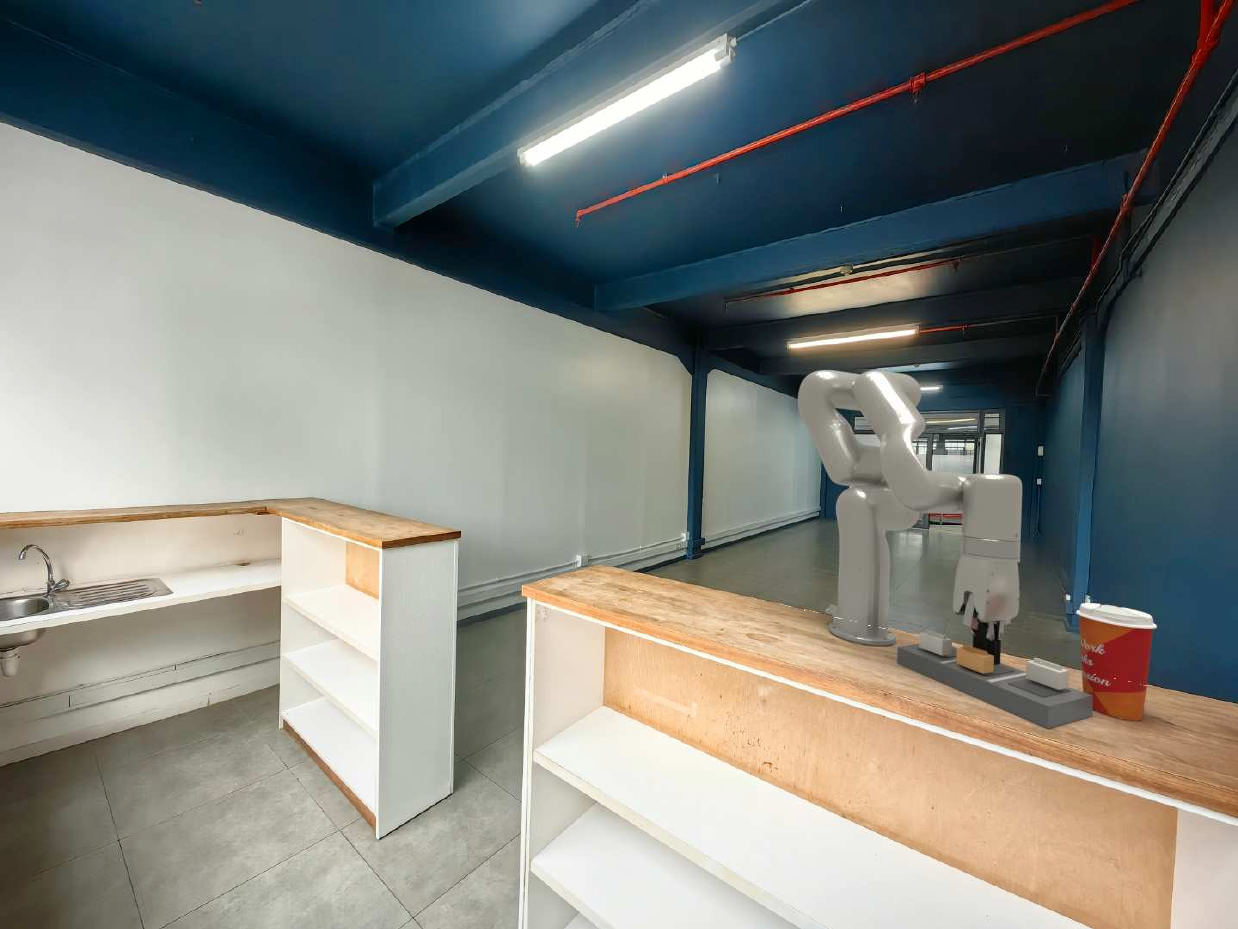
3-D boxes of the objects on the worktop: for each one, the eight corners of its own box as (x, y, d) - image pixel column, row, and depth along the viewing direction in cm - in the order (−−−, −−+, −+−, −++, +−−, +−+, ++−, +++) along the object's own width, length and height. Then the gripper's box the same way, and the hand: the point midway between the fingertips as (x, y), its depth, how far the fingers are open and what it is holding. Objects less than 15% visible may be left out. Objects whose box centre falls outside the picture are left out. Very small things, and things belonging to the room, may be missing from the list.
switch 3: (1025, 678, 71) (1026, 657, 71) (1035, 676, 72) (1036, 656, 72) (1058, 690, 67) (1059, 668, 67) (1068, 687, 68) (1069, 666, 68)
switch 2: (956, 663, 75) (956, 644, 75) (966, 661, 76) (966, 642, 76) (983, 673, 72) (983, 653, 72) (993, 671, 72) (993, 652, 73)
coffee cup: (1070, 691, 75) (1073, 598, 75) (1146, 710, 69) (1149, 610, 70) (1077, 711, 68) (1080, 609, 68) (1162, 733, 63) (1165, 622, 63)
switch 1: (919, 647, 82) (919, 629, 82) (928, 645, 83) (929, 628, 83) (941, 655, 78) (942, 637, 79) (951, 654, 79) (952, 636, 79)
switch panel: (897, 663, 83) (897, 646, 83) (937, 657, 87) (938, 640, 87) (1048, 728, 63) (1048, 705, 63) (1092, 716, 67) (1092, 694, 67)
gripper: (991, 544, 82) (987, 648, 81) (936, 546, 76) (932, 658, 76) (1043, 552, 75) (1040, 665, 75) (987, 554, 69) (983, 677, 69)
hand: (985, 661), depth 75 cm, fingers closed
